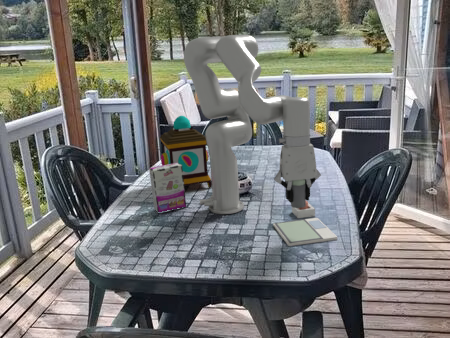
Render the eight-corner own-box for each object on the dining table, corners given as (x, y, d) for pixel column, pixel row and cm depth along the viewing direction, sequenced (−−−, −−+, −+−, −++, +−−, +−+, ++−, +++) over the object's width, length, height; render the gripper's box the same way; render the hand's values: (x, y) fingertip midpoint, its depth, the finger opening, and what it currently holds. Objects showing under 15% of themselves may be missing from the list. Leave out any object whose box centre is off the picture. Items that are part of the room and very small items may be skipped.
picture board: (288, 246, 128) (288, 243, 127) (273, 225, 142) (273, 223, 142) (337, 239, 130) (337, 236, 130) (317, 219, 145) (317, 217, 145)
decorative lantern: (203, 176, 200) (198, 110, 192) (216, 188, 182) (211, 116, 174) (159, 182, 195) (153, 114, 186) (168, 196, 176) (161, 121, 168)
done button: (300, 212, 148) (300, 204, 147) (297, 209, 151) (297, 201, 150) (309, 211, 149) (309, 203, 148) (306, 208, 152) (306, 200, 151)
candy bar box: (181, 204, 167) (177, 162, 162) (186, 207, 162) (183, 165, 158) (153, 210, 162) (148, 167, 157) (157, 214, 158) (153, 170, 153)
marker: (293, 208, 131) (293, 179, 128) (288, 203, 135) (288, 175, 132) (307, 206, 131) (307, 177, 129) (302, 202, 136) (302, 174, 133)
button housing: (297, 218, 147) (297, 211, 146) (292, 211, 153) (291, 204, 152) (315, 216, 148) (315, 208, 147) (308, 209, 154) (308, 202, 153)
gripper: (272, 146, 123) (274, 207, 128) (329, 140, 126) (329, 200, 130) (265, 141, 130) (267, 199, 135) (319, 135, 133) (319, 193, 138)
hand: (298, 199), depth 133 cm, fingers closed on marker, 4 cm apart
